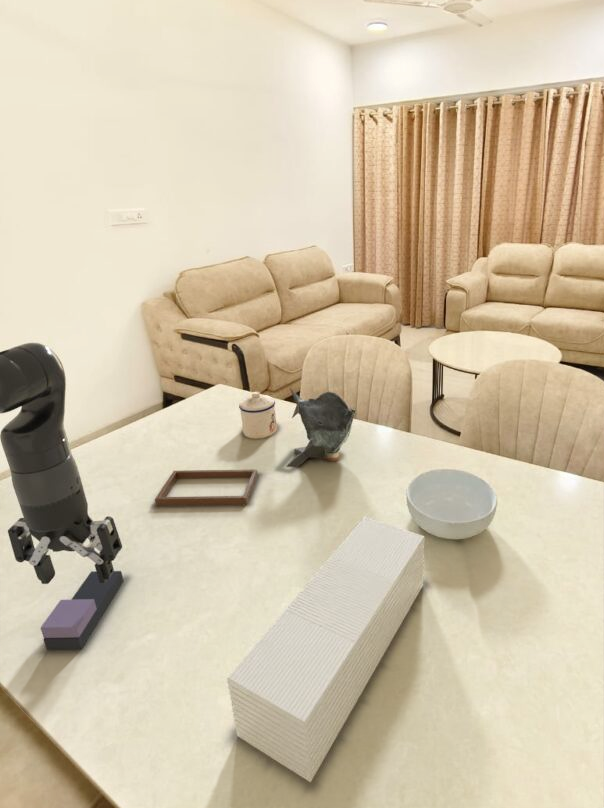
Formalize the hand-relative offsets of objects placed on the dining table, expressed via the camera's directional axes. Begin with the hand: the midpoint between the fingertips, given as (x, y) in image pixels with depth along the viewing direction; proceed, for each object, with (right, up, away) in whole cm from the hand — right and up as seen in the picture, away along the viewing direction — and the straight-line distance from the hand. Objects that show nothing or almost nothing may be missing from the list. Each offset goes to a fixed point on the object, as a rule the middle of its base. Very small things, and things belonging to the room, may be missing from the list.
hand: (77, 579), depth 75 cm
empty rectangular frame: (+9, +5, +33) cm, 34 cm away
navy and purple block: (0, -7, +3) cm, 8 cm away
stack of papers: (+40, -9, -3) cm, 41 cm away
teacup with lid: (+14, +15, +59) cm, 62 cm away
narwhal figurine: (+32, +10, +44) cm, 55 cm away
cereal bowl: (+59, +1, +22) cm, 63 cm away
